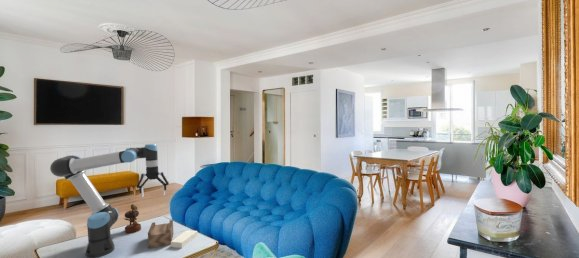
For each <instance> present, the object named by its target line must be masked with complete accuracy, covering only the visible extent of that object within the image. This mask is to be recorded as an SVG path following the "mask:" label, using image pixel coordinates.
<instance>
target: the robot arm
mask: <svg viewBox="0 0 579 258" xmlns="http://www.w3.org/2000/svg"><path fill="white" fill-rule="evenodd" d="M158 158H159V157H158V145H157V144H156V143H147V144H145V145H144V147H143V146H141V147H128V148H126V149H125V150H122V151H115V152H110V153H105V154H98V155H92V156H87V157H80V156H79V155H78V156H77V155H73V154H72V155H66V156H63V157H60V158H57V159H55V160H53V161H52V163H51V164H50V167H49V170H50V172H51V174H52V175H54V176H55V177H59V178H63V177H64V179H65V180H66V181H70V182H71V183H72V185H73V187H75V190H76V191H77V192H78V193H79V195H80V197H81V198H82V199H83V201H84V202H85V204H86V205H87V206H88V207H89V209H90V210H91V213H90V216H88V217H87V221H86V226H87V229H86V230H87V241H88V242H87V245H86V249H85V253H84V254H85V257H86V256H87V258H99V257H103V256H106V255H108V254H110V253H112V252H114V250H115V249H116V248H115V243H114V241H113V238H112V235H111V228H112V227H113V225H114V224H116V223H117V221H118V219H119V215H120V214H119V211H118V209H117V208H116V207H112V206H111V203H107V202H105V199H103V197H102V196H101V195H100V192H98V190H97V189H96V187H95V186H94V184H93V183H92V181H91V179H90V178H89V177H88V176H87V174H86V171H88V170H92V169H98V168H102V167H107V166H114V165H118V164H124V163H125V164H127V163H132V162H134V161H135V160H137V159H145V166H146V168H145V170H146V171H145V173H141V175H140V179H139V181H138V182H137V184H136V188H137V189H139V193H141V198H142V199H143V198H144V193H145V192H144V187H143V186H144V185H145V184H146V183H147V182H148V180H150V181H152V180H157V181H158V182H160V184H162V185H163V186H162V196H163V197H164V196H165V195H166V191H167V186H168V185H169V184H170V182H169V181H168V179H167V178H166V176H165V175H164V171H161V172H159V159H158ZM159 176H161V177H159ZM145 177H146V179H144V178H145ZM161 178H162V179H161ZM143 179H144V181H143ZM142 181H143V182H142Z"/></svg>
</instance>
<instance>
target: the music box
mask: <svg viewBox="0 0 579 258" xmlns="http://www.w3.org/2000/svg"><path fill="white" fill-rule="evenodd" d="M130 209H131V210H129V211H126V212H125V213H124V217H123V220H125V221H128V222H129V224H127V225H126V226H125V227H124V233H126V234H134V233H138V232H140V231H141V230H142V225H141V223H139V222H137V220H138V218H137V217H139V215H140V211H139V209H138V206H137V205H135V204H134V203H132V204H130Z"/></svg>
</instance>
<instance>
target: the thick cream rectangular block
mask: <svg viewBox="0 0 579 258" xmlns="http://www.w3.org/2000/svg"><path fill="white" fill-rule="evenodd" d="M197 237H198V230H190V229H187V230H186V231H184V232H182V233H181V234H179V235H178V236H177V237H176V238H174V239H172V241H171V245H170V248H173V249H175V248H177V249H183V248H184V247H186V246H187V245H189V243H190V242H192V241H194V240H195V239H196V238H197Z"/></svg>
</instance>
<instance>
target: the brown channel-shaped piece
mask: <svg viewBox="0 0 579 258" xmlns="http://www.w3.org/2000/svg"><path fill="white" fill-rule="evenodd" d="M173 237H174V220H173V219H170V220H169V222H167V223H161V224H156V222H151V224H150V227H149V228H148V232H147V243H148V249H152V248H157V247H158V248H159V247H165V246H171V241H173V239H172V238H173Z"/></svg>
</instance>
